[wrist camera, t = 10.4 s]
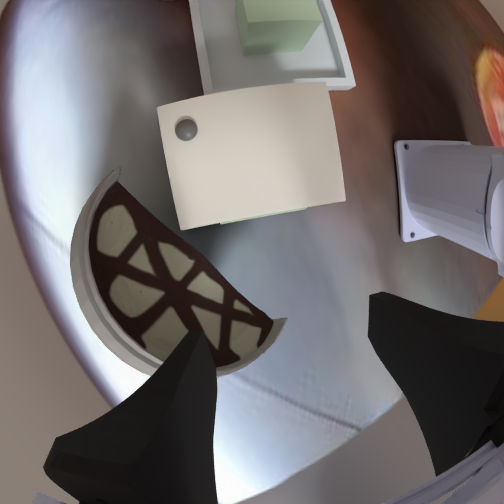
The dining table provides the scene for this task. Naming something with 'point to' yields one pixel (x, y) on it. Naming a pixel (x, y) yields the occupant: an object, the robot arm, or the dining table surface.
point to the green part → (276, 25)
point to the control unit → (251, 153)
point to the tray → (265, 65)
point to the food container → (157, 288)
